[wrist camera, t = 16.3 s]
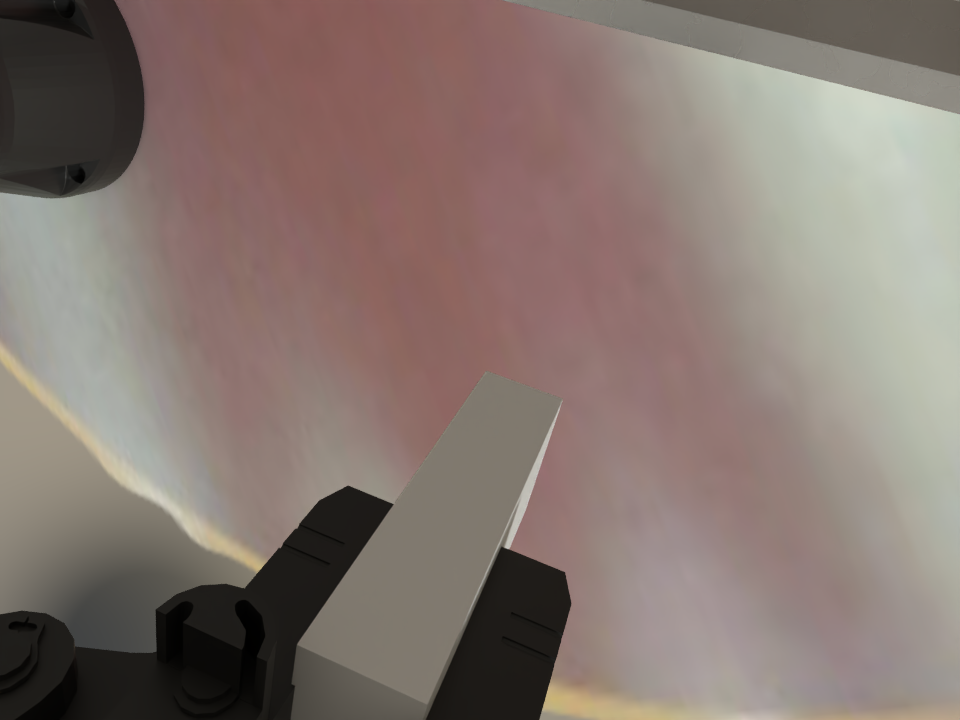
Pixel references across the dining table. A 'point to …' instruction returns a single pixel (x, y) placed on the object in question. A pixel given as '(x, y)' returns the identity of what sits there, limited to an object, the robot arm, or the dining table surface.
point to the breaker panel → (807, 38)
